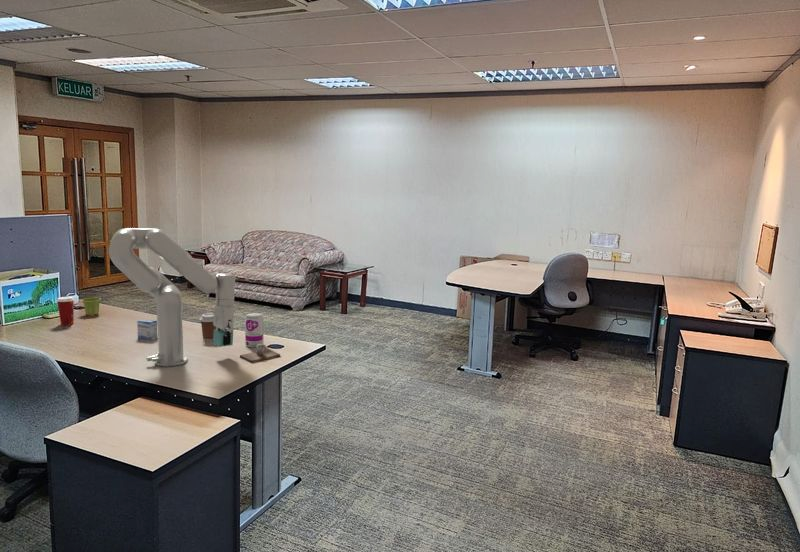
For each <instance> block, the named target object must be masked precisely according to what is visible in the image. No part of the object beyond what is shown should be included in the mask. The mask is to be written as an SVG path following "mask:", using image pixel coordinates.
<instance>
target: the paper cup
mask: <svg viewBox="0 0 800 552" xmlns="http://www.w3.org/2000/svg"><path fill="white" fill-rule="evenodd" d="M74 301H75V299H74V297H73V296H61V297H58V298H57V300H56V302H57V305H58V315H59V321H60V325H61V326H71V325H70V324H72V325H74V311H75V309H74V308H75V307H74V306H75V305H74Z"/></svg>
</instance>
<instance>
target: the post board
mask: <svg viewBox="0 0 800 552" xmlns="http://www.w3.org/2000/svg"><path fill="white" fill-rule="evenodd" d="M279 357H280V358H281V354H280V353H278V352H275V351H273V350H271V349H264V344H257V347H256V351H253V352H249V353H243V354H240V355H239V358H241V359H243V360H245V361H247V362H249V363H251V364H253V363H257V362H261V361H266V360H267V361H268V360H271V359H274V358H275V359H276V358H279Z"/></svg>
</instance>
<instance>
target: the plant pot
mask: <svg viewBox="0 0 800 552" xmlns="http://www.w3.org/2000/svg"><path fill="white" fill-rule="evenodd" d="M101 301H102V298H101V297H87V298H83V299H81V302H82V304H83V307H84V311H85V312H84V313H85V314H87V315H86V316H90V315H91V316H96V315H99V314H100V313H99V312H100V303H101ZM98 313H99V314H98ZM95 314H96V315H95Z"/></svg>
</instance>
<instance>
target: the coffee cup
mask: <svg viewBox="0 0 800 552" xmlns="http://www.w3.org/2000/svg"><path fill="white" fill-rule="evenodd" d="M213 318H214V312H213V313H210V312H208V313H204V314H203V313H202V314H201V317H199V319H198V320H199V321H200V324H201V331H202V332H201V333H202V334H201V335H202V339H203V341H205V342H206V341H207V342H208V341H209V342H210V340H212V341H213V335H214V330H216V327H215V326H214V325H213Z"/></svg>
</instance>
